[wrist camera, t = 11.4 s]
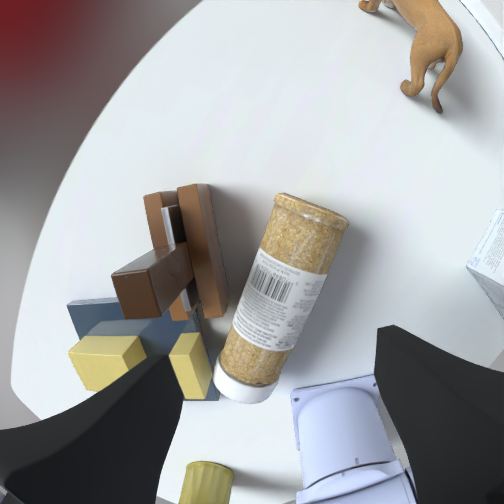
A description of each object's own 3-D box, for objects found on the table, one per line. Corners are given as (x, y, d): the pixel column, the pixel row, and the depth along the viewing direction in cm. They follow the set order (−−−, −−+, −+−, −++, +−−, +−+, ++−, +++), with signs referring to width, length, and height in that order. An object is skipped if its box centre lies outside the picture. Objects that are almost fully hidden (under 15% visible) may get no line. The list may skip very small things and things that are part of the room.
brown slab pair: (230, 298, 19) (223, 317, 16) (185, 302, 19) (172, 321, 17) (208, 183, 17) (196, 183, 14) (161, 193, 18) (142, 196, 15)
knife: (215, 285, 19) (176, 361, 10) (191, 288, 19) (139, 360, 10) (198, 200, 18) (135, 214, 9) (173, 205, 18) (97, 224, 9)
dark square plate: (220, 393, 21) (218, 400, 20) (110, 388, 23) (106, 394, 22) (190, 289, 19) (187, 294, 18) (72, 300, 20) (66, 304, 19)
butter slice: (212, 374, 20) (205, 399, 17) (194, 374, 20) (185, 399, 17) (200, 331, 19) (189, 354, 16) (181, 333, 19) (168, 355, 16)
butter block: (154, 375, 20) (141, 397, 17) (101, 371, 21) (86, 390, 18) (138, 335, 19) (122, 355, 16) (85, 335, 20) (66, 352, 17)
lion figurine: (319, -22, 13) (335, -92, 4) (369, -26, 12) (398, -84, 3) (413, 121, 15) (495, 92, 7) (458, 108, 14) (533, 86, 6)
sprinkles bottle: (284, 192, 18) (224, 356, 21) (268, 187, 13) (200, 386, 17) (349, 218, 17) (276, 380, 20) (355, 220, 12) (261, 416, 16)
